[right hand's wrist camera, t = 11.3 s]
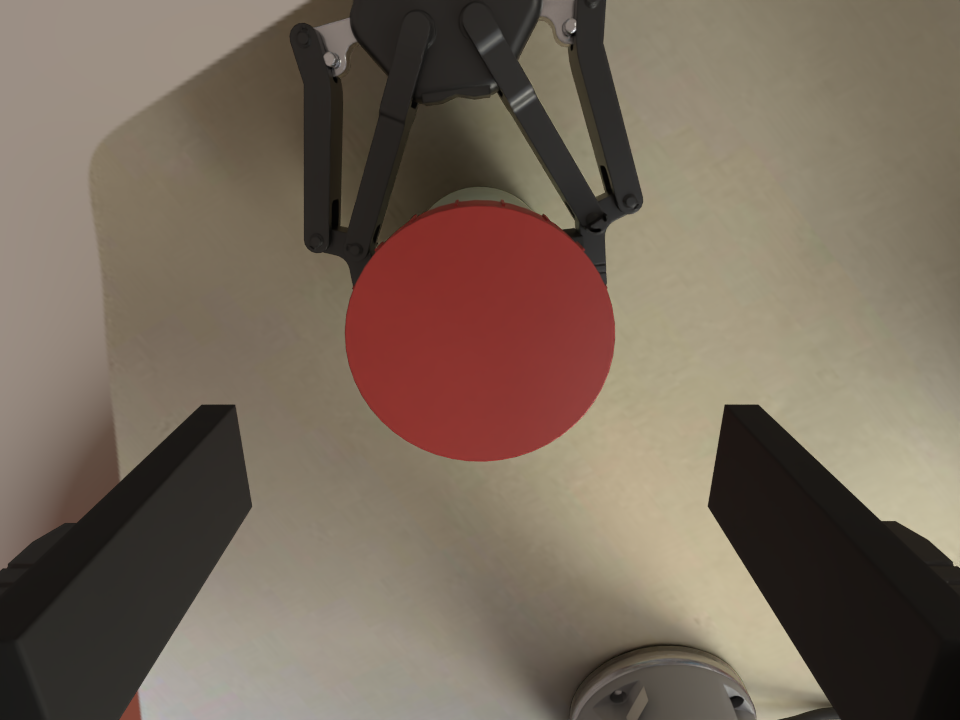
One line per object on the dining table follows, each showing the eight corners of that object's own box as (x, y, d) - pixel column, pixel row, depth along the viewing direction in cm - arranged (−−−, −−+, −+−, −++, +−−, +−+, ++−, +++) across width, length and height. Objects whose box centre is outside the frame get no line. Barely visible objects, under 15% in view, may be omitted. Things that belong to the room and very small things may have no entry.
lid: (325, 222, 21) (310, 230, 19) (592, 175, 21) (604, 179, 19) (385, 453, 25) (377, 479, 23) (615, 418, 24) (627, 442, 22)
